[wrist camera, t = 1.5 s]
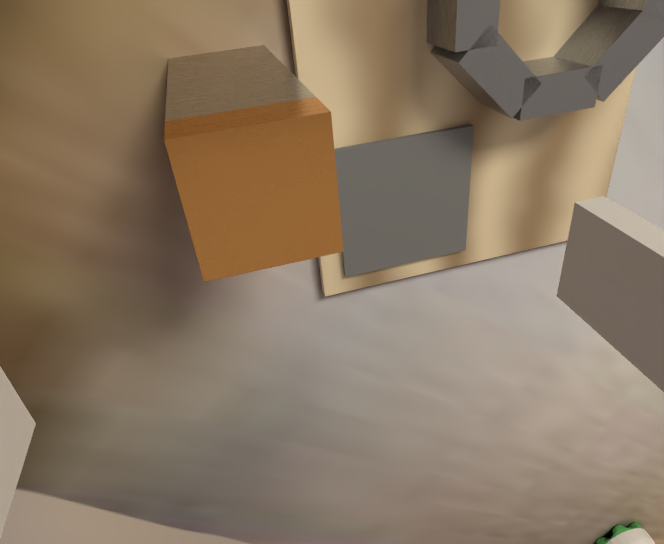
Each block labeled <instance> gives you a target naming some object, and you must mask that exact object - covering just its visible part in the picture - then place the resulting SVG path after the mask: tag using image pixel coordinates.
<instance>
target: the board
mask: <svg viewBox="0 0 664 544" xmlns="http://www.w3.org/2000/svg"><path fill="white" fill-rule="evenodd" d="M286 1H287V9H288V17H289V25H290V33H291V41H292V50H293V58H294V66H295V74H296V78H297V79H298V80H299V81H301V82H302V83H303V84H304V85H305V86H306V87H307V88H308V89H309V90H310V91H311V92H312V93H313V94H314V95H315V96H316V97H317V98H318V99H319V100H320V101H321V102H322V103H323V104H324V105H325V106H326V107H327V108H328V109H329V110H330V111H331V117H332V128H333V139H334V149H335V148H341V147H346V146H352V145H357V144H363V143H368V142H374V141H379V140H385V139H390V138H396V137H402V136H407V135H413V134H418V133H424V132H429V131H435V130H440V129H446V128H451V127H457V126H462V125H468V124H472V125H473V126H474V132H473V147H472V163H471V178H470V193H469V208H468V223H467V238H466V250H464V251H460V252H455V253H451V254H446V255H442V256H438V257H433V258H429V259H424V260H420V261H415V262H411V263H407V264H402V265H398V266H393V267H389V268H384V269H380V270H376V271H371V272H367V273H362V274H358V275H353V276H349V277H345V276H344V271H343V260H342V252H340V253H335V254H331V255H326V256H321V257H318V259H319V267H320V275H321V283H322V291H323V293H324V295H325V296H329V295H334V294H338V293H342V292H347V291H351V290H355V289H360V288H364V287H368V286H373V285H377V284H381V283H386V282H390V281H394V280H399V279H403V278H407V277H412V276H416V275H420V274H425V273H429V272H433V271H438V270H442V269H446V268H451V267H455V266H459V265H464V264H468V263H472V262H477V261H481V260H485V259H490V258H494V257H498V256H503V255H507V254H511V253H516V252H520V251H524V250H529V249H533V248H537V247H542V246H546V245H550V244H555V243H559V242H563V241H567V240H568V235H569V230H570V225H571V219H572V214H573V209H574V204H575V202H578V201H583V200H587V199H592V198H597V197H602V196H604V197H606V196H607V192H608V187H609V183H610V179H611V174H612V170H613V166H614V161H615V157H616V153H617V148H618V144H619V140H620V135H621V131H622V127H623V122H624V118H625V114H626V109H627V105H628V101H629V96H630V92H631V88H632V83H633V79H634V75H635V70H636V67H635V68H634V69H633V71H632V72H631V73H630V74H629V75H628V76H627V77H626V78H625V79H624V80H623V81H622V83H621V84H620V85H619V86H618V87H617V88H616V89H615V90H614V91H613V92H612V93H611V94H610V96H609V97H608V98H607V99H606V100H605V101H604V102H602V101H600V100H597V99H596V104H595V107H594V108H588V109H583V110H577V111H572V112H566V113H561V114H555V115H550V116H544V117H539V118H533V119H528V120H522V121H519V120H517V119H515V118H510V117H507V116H505V115H503V114H501V113H499V112H497V111H495V110H493V109H491V108H489V107H487V106H485V105H482V104H480V103H479V102H478V101H477V100H476V99H475V97H474V96H473V95H472V94H471V93H470V92H469V91H468V90H467V89H466V88H465V87H464V86H463V85H462V84H461V83H460V82H459V81H458V80H457V79H456V78H455V77H454V76H453V75H452V74H451V73H450V72H449V71H448V70H447V69H446V68H445V67H444V66H443V65H442V64H441V63H440V62H439V61H438V60H437V59H436V58H435V57H434V56H433V55H432V54H431V53H430V51H431V50H432V49H433V48H434V46H435V45H432V44H430V43H427V42H426V39H427V0H286ZM598 1H599V0H500V12H499V24H498V33H499V34H500V35H501V36H502V38H503V39H504V40H505V41H506V42H507V43H508V45H509V46H510V47H511V48H512V49H513V50H514V52H515V53H516V54H517V55H518V56H519V58H520V59H521V60H522V61H529V60H535V59H541V58H547V57H553V56H554V55H555V54H556V53H557V52H558V51H559V50H560V48H561V47H562V46H563V45H564V44H565V43H566V41H567V40H568V39H569V38H570V37H571V36H572V34H573V33H574V32H575V31H576V30H577V29H578V28H579V26H580V25H581V24H582V23H583V22H584V21H585V19H586V18H587V17H588V16H589V15H590V14H591V12H592V11H593V10H594V9H595V8H596V7H597V5H598Z"/></svg>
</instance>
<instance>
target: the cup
mask: <svg viewBox="0 0 664 544" xmlns="http://www.w3.org/2000/svg"><path fill="white" fill-rule="evenodd" d="M612 531H613V536H612V537H611V538H610V539H609V538H607V537H601V538H599V539H597V541H596V543H597V544H655V542H654V541H653V539H652V538H651V537H650V536H649V534H648V533H647V532H646V531H645V530H644V528H643V527H642V526H640V525H639V524H638V523H636V522H634V523H631V524H630V525H629V526H628V527H627V528H626V527H624V526H622V525H616V526H615V527H614V528H613V530H612Z"/></svg>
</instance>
